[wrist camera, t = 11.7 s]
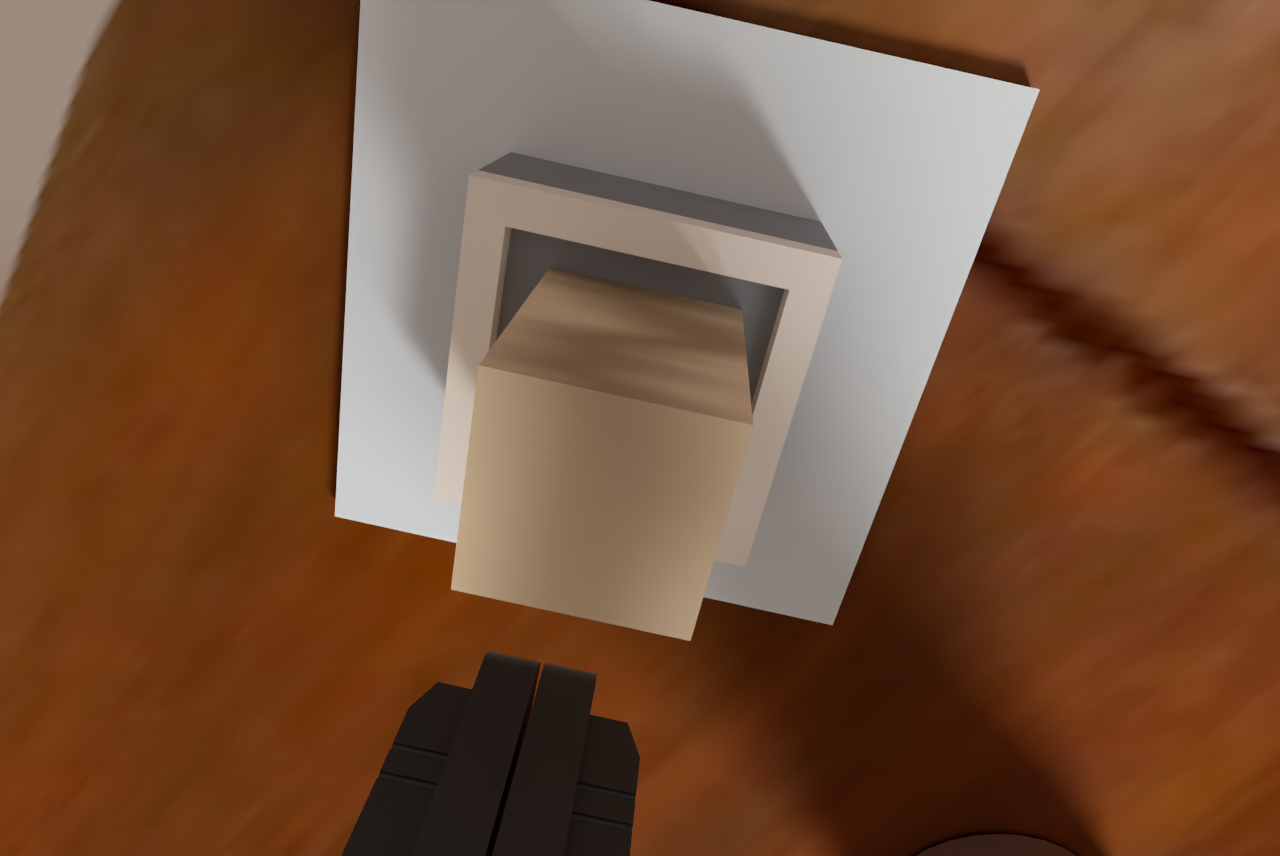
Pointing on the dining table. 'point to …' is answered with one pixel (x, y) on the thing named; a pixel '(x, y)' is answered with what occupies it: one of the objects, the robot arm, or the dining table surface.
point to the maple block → (604, 453)
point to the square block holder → (662, 243)
